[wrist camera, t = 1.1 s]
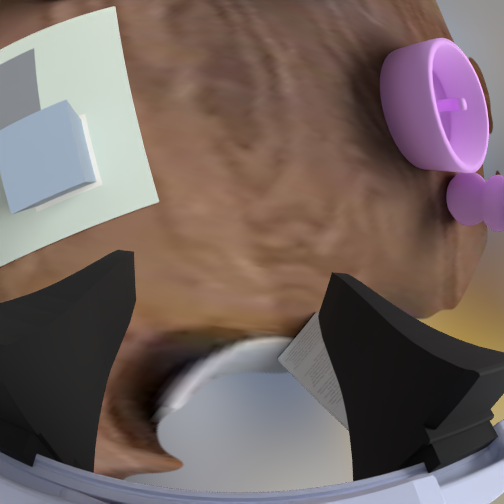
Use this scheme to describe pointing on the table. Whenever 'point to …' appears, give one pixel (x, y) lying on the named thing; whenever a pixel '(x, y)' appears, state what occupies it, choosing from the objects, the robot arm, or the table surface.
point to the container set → (443, 124)
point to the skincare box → (315, 369)
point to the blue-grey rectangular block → (44, 157)
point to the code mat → (93, 121)
